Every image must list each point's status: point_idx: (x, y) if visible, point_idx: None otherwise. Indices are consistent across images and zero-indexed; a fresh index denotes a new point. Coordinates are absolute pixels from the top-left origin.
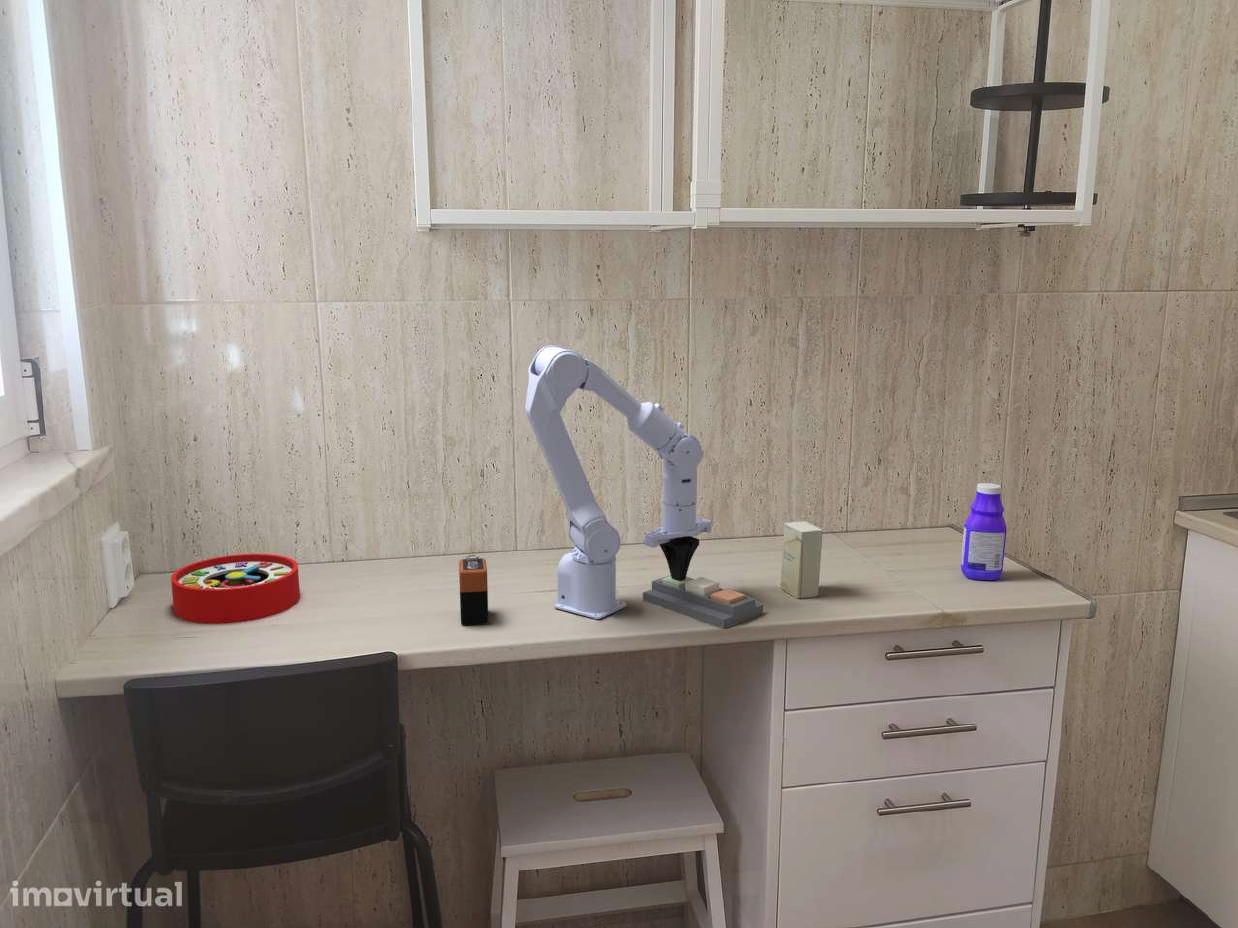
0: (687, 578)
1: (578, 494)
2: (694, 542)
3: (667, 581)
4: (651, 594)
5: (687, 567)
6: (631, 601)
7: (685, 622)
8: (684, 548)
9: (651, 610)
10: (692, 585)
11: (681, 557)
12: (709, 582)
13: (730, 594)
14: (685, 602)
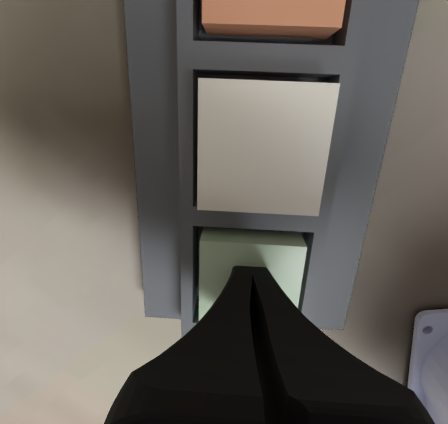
0: (215, 267)
1: None
2: (217, 411)
3: (297, 303)
4: (344, 299)
5: (234, 290)
6: (359, 327)
7: (443, 70)
8: (362, 391)
9: (396, 241)
10: (325, 167)
11: (325, 341)
12: (238, 121)
13: None
14: (345, 159)
